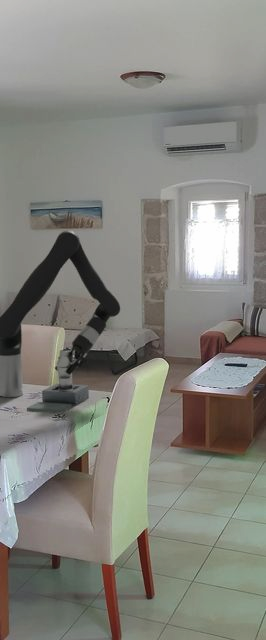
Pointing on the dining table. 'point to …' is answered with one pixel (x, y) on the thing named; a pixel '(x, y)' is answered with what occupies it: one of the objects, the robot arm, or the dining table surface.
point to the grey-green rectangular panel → (49, 407)
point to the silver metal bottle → (64, 371)
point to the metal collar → (65, 395)
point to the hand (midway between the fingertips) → (62, 371)
